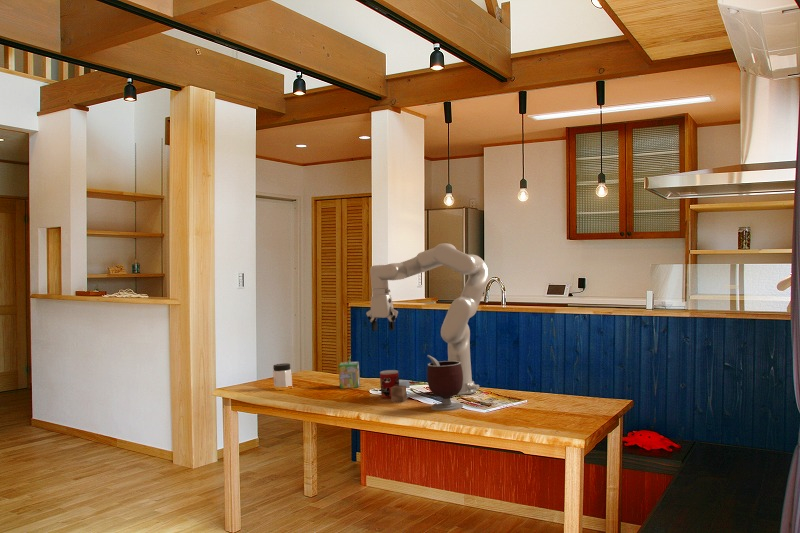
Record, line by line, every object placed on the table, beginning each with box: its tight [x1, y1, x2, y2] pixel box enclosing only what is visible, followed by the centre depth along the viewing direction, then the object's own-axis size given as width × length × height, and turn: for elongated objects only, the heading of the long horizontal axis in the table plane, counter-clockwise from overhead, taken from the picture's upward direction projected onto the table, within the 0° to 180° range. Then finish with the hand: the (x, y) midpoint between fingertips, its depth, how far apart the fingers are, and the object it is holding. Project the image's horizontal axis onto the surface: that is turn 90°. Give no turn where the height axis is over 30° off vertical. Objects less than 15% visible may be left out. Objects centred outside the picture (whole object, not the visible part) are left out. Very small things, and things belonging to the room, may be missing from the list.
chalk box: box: [338, 355, 361, 390], centre depth 321 cm, size 9×9×15 cm
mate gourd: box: [426, 354, 464, 412], centre depth 260 cm, size 16×14×20 cm
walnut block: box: [390, 386, 408, 403], centre depth 279 cm, size 5×5×6 cm
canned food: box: [379, 369, 400, 400], centre depth 289 cm, size 8×8×11 cm
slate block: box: [399, 379, 411, 388], centre depth 299 cm, size 6×6×5 cm
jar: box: [272, 362, 293, 387], centre depth 328 cm, size 9×8×12 cm
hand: (383, 330), depth 300 cm, fingers open, 9 cm apart
